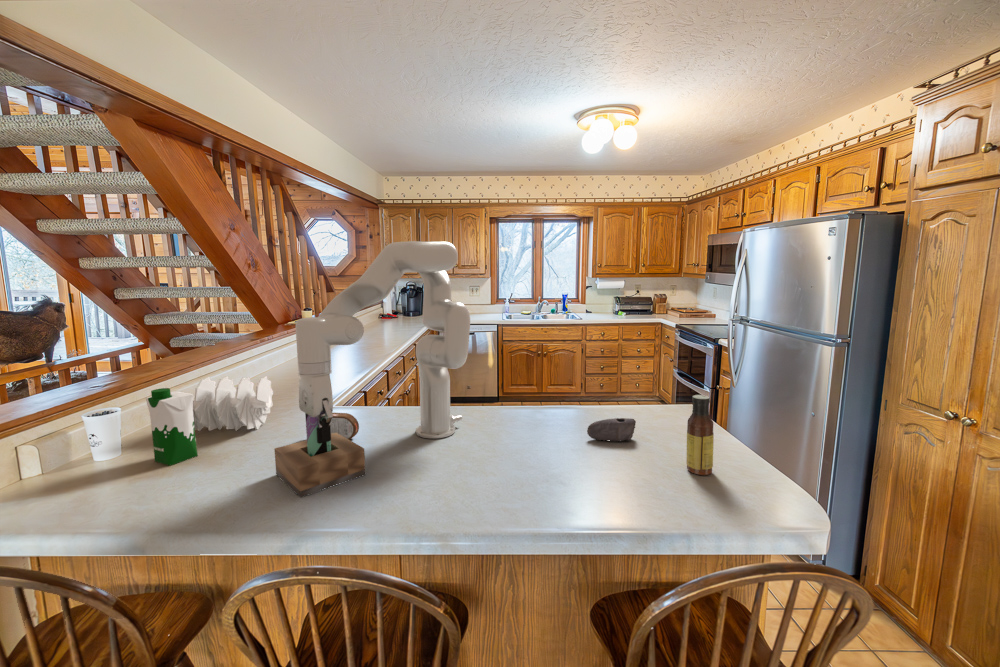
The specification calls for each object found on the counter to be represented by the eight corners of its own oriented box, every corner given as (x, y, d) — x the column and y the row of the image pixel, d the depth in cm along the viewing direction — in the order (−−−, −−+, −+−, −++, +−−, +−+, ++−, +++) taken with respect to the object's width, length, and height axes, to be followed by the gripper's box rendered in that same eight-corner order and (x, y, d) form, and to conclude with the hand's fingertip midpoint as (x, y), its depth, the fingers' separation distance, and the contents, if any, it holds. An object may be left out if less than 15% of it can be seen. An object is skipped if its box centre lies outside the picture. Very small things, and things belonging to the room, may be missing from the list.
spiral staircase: (201, 437, 146) (278, 431, 149) (166, 432, 130) (253, 425, 132) (208, 384, 152) (282, 379, 154) (175, 372, 135) (258, 367, 137)
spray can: (312, 458, 112) (308, 382, 109) (334, 457, 112) (330, 382, 110) (305, 467, 107) (300, 388, 104) (328, 466, 107) (323, 388, 104)
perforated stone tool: (587, 443, 131) (588, 421, 130) (585, 436, 136) (586, 415, 135) (638, 444, 130) (639, 422, 129) (634, 438, 135) (635, 416, 134)
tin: (360, 438, 135) (358, 412, 133) (355, 442, 131) (354, 415, 130) (313, 436, 136) (312, 411, 135) (308, 440, 133) (306, 414, 132)
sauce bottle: (710, 467, 114) (715, 394, 111) (713, 478, 108) (719, 401, 106) (683, 464, 116) (688, 392, 114) (685, 474, 110) (690, 398, 108)
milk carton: (149, 462, 117) (140, 390, 115) (184, 450, 126) (178, 382, 123) (167, 468, 114) (160, 394, 111) (203, 455, 122) (197, 386, 119)
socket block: (337, 456, 121) (336, 432, 120) (365, 474, 110) (364, 448, 109) (276, 474, 110) (274, 448, 109) (300, 497, 99) (298, 468, 98)
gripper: (286, 365, 110) (290, 433, 112) (313, 376, 98) (318, 452, 100) (316, 361, 115) (319, 426, 117) (345, 371, 103) (349, 444, 105)
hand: (318, 437), depth 109 cm, fingers closed on spray can, 5 cm apart
